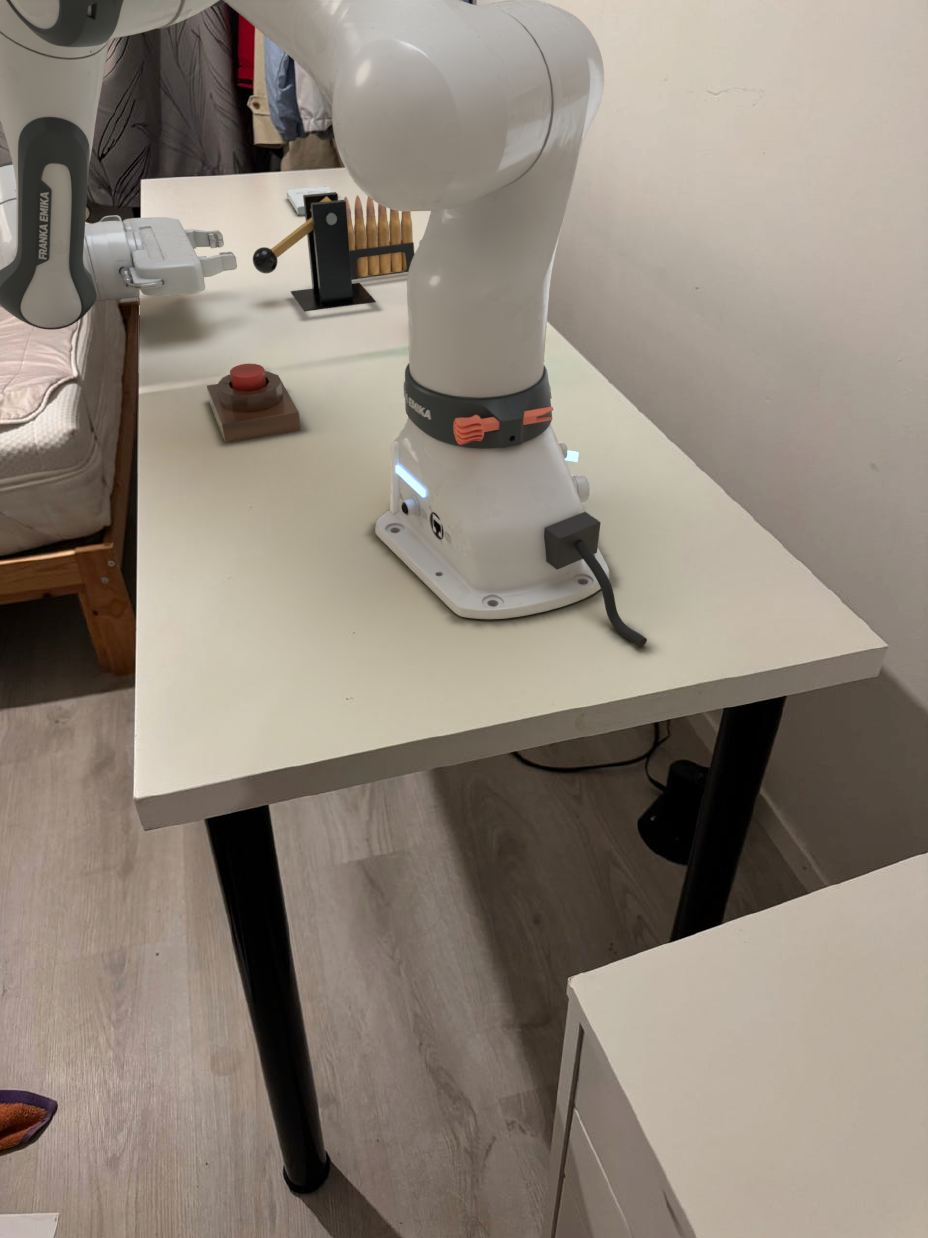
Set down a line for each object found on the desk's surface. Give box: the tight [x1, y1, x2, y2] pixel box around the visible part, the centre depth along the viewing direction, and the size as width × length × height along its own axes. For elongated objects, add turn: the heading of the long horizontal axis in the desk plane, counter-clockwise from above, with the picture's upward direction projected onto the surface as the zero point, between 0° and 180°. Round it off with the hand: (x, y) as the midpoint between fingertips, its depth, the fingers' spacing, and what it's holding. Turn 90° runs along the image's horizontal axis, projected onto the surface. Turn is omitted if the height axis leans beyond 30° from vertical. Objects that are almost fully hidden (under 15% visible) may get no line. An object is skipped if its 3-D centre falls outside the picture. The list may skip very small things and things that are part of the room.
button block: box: [206, 370, 302, 444], centre depth 97 cm, size 10×8×4 cm
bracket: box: [290, 191, 377, 313], centre depth 120 cm, size 10×8×14 cm
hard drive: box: [286, 186, 340, 217], centre depth 163 cm, size 2×8×12 cm
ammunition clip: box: [343, 194, 415, 281], centre depth 128 cm, size 11×2×12 cm, turn 114°
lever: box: [252, 197, 331, 274], centre depth 117 cm, size 13×3×3 cm
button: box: [229, 363, 267, 391], centre depth 95 cm, size 4×4×2 cm
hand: (228, 248), depth 115 cm, fingers open, 8 cm apart
